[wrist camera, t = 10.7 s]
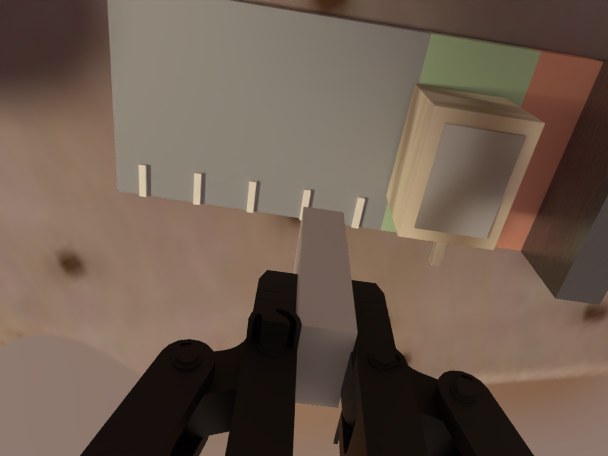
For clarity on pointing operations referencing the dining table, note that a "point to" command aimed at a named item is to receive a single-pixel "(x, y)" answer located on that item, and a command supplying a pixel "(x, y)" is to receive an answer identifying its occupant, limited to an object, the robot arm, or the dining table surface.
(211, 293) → the dining table surface
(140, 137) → the track
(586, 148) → the grey block
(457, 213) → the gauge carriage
